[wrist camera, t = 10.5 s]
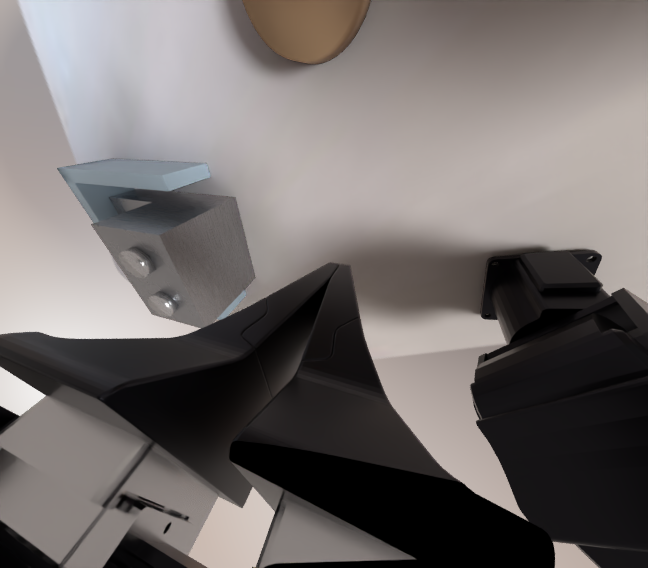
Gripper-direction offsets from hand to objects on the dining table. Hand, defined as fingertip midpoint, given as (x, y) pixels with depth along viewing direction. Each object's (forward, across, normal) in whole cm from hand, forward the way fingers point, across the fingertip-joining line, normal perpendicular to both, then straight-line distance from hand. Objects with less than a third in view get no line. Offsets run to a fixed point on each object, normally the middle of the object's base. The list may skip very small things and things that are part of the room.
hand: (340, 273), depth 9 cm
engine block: (+12, +21, +7) cm, 25 cm away
